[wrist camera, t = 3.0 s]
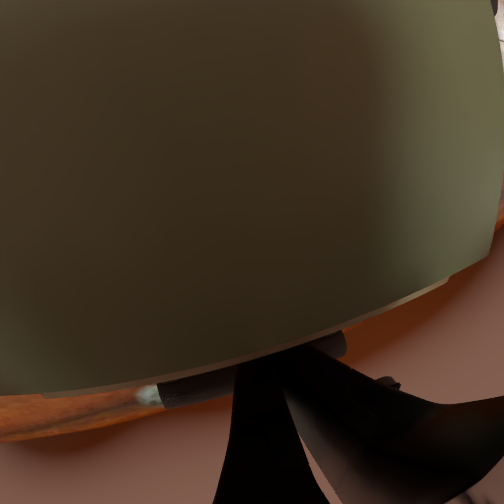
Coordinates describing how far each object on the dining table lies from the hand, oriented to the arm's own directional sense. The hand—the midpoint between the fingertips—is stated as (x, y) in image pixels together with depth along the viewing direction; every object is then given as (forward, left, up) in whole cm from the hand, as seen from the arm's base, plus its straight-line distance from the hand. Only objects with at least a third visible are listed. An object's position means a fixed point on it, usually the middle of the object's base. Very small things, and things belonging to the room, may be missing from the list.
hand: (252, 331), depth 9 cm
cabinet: (+10, 0, -6) cm, 11 cm away
